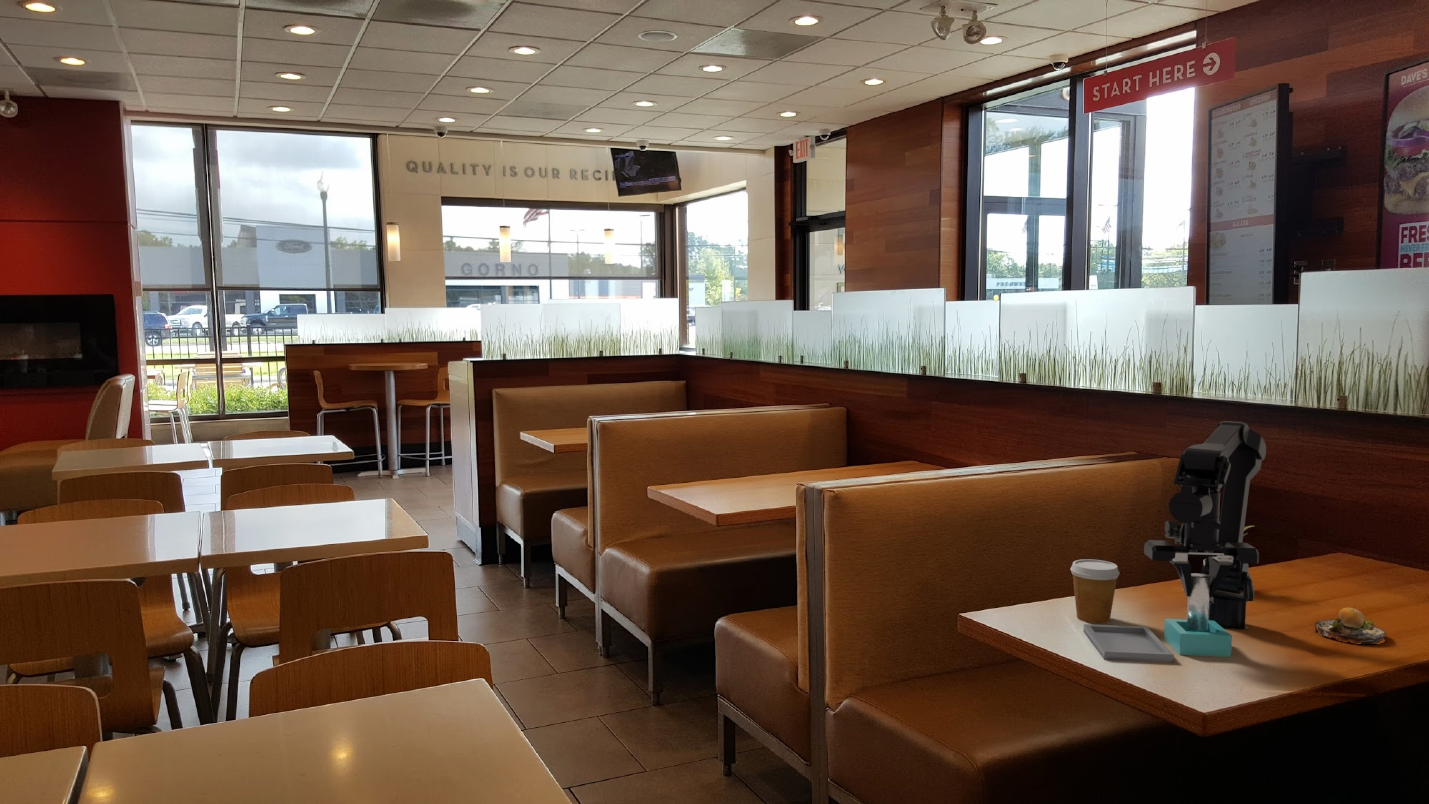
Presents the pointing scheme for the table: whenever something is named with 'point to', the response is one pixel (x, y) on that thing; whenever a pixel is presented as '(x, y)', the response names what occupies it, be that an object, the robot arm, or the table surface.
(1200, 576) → the steel pin
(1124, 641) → the charcoal tray
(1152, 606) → the table surface
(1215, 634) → the teal square open box
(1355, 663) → the table surface
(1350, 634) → the burger
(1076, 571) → the disposable coffee cup
